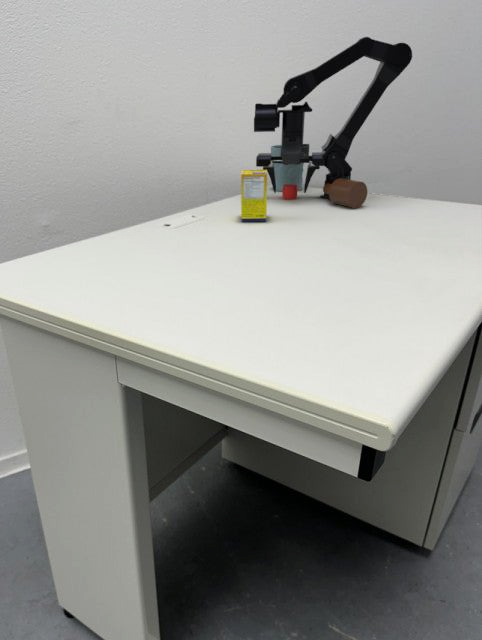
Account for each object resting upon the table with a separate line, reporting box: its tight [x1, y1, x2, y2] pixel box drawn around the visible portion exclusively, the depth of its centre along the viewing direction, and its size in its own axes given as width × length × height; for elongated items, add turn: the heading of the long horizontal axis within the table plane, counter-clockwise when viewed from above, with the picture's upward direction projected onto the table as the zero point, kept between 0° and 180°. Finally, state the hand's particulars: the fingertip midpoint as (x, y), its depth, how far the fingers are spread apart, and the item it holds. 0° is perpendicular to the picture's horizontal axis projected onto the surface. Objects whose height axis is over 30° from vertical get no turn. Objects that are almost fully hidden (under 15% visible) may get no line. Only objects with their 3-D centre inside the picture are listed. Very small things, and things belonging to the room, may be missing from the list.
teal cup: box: [270, 144, 305, 192], centre depth 161 cm, size 10×10×12 cm
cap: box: [281, 184, 298, 200], centre depth 151 cm, size 4×4×3 cm
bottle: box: [322, 178, 368, 209], centre depth 141 cm, size 6×6×12 cm
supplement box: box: [240, 169, 268, 223], centre depth 128 cm, size 6×6×11 cm
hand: (289, 192), depth 151 cm, fingers open, 8 cm apart
